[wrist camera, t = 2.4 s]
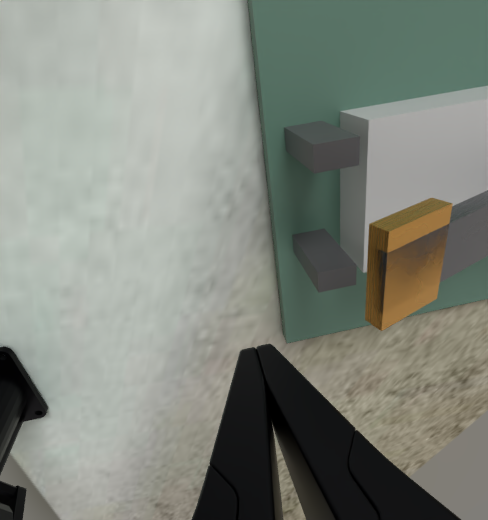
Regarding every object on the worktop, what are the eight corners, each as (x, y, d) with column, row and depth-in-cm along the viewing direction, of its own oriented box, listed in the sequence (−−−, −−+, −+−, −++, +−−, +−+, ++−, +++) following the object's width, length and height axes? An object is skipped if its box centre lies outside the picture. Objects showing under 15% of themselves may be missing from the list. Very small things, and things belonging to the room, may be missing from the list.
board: (507, 284, 28) (590, 340, 22) (283, 334, 27) (311, 407, 21) (615, -99, 17) (833, -178, 11) (242, -48, 16) (280, -109, 10)
